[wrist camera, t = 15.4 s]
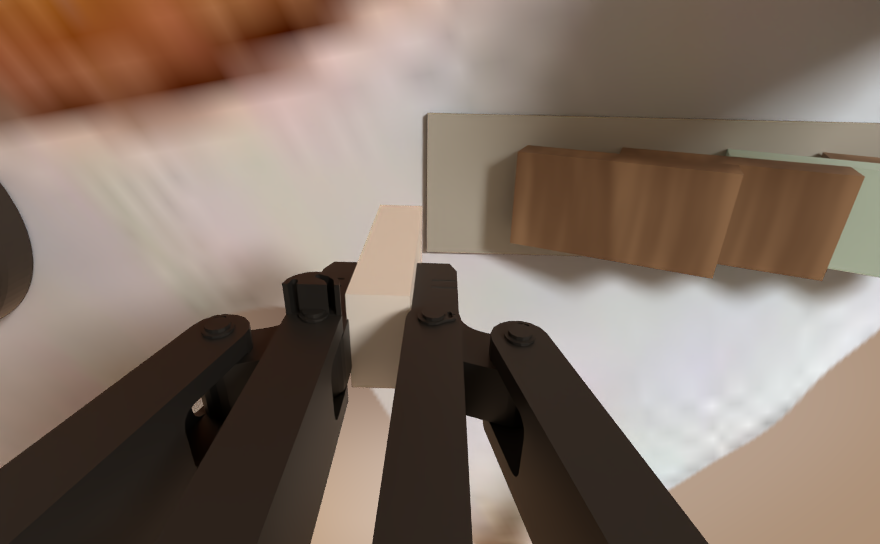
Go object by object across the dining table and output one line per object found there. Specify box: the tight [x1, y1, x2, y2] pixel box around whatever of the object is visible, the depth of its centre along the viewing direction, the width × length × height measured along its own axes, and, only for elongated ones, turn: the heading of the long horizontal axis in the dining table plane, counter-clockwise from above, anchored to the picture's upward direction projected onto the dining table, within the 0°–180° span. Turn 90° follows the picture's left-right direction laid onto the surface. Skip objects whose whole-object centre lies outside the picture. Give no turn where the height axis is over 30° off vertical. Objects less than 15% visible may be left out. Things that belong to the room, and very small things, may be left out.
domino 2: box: [619, 147, 865, 281], centre depth 24 cm, size 2×5×10 cm
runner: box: [427, 113, 880, 256], centre depth 26 cm, size 28×8×1 cm, turn 89°
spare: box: [726, 149, 880, 278], centre depth 24 cm, size 2×5×10 cm
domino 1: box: [510, 145, 744, 278], centre depth 24 cm, size 2×5×10 cm
